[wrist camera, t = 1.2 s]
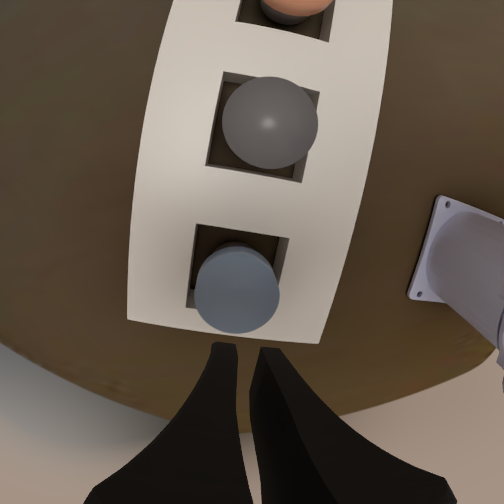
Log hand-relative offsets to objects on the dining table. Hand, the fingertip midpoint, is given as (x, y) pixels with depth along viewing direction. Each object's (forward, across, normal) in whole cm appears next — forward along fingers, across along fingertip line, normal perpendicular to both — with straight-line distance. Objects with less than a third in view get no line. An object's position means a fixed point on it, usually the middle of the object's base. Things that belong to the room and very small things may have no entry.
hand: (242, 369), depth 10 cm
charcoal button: (+9, 0, -8) cm, 12 cm away
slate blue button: (+9, 0, 0) cm, 9 cm away
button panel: (+10, 0, -8) cm, 13 cm away
